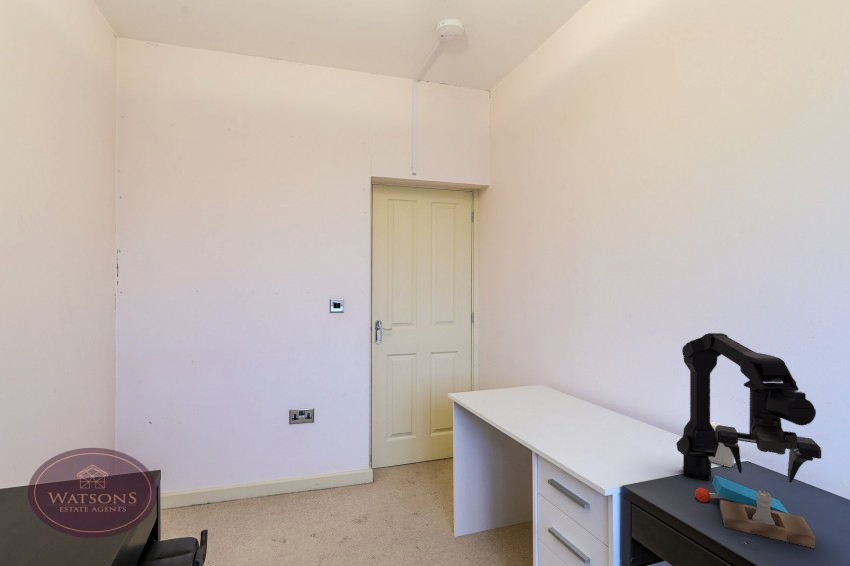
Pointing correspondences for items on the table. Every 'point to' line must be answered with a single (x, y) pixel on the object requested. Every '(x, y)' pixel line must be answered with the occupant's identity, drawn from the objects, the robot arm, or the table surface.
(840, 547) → the table surface
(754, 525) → the walnut socket board
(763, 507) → the rook chess piece
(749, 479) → the table surface
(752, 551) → the table surface
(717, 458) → the photo printer
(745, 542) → the table surface
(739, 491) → the lever
